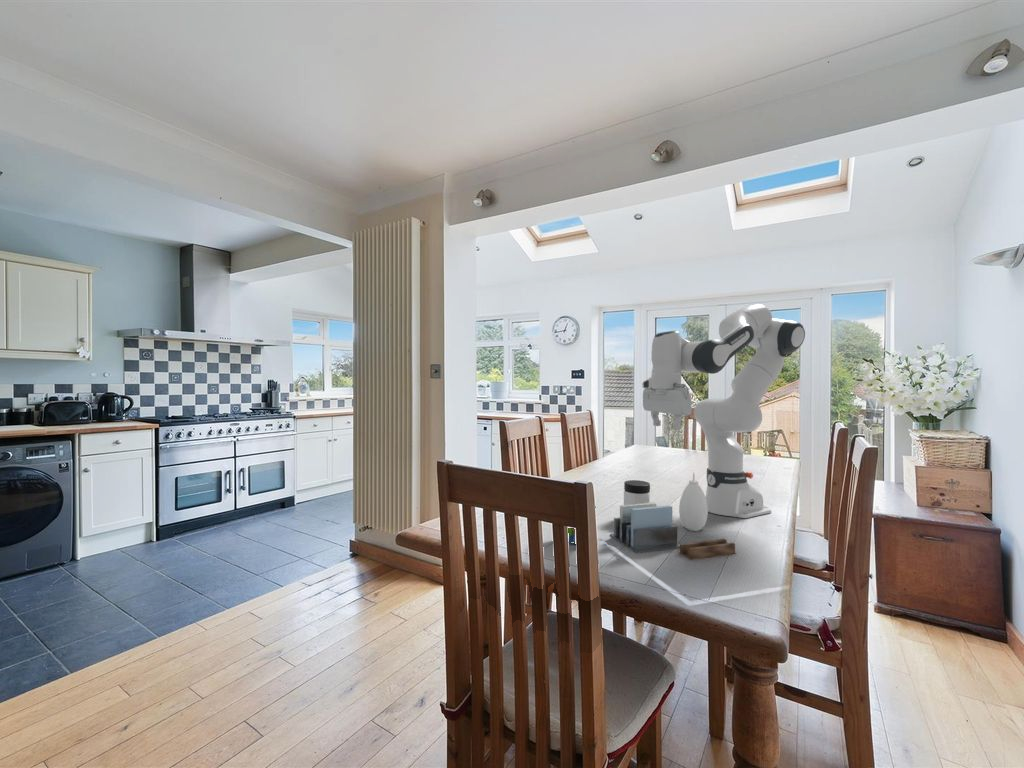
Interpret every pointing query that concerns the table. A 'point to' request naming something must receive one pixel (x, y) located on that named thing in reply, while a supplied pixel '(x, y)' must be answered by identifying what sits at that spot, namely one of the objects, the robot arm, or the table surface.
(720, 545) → the plate stand
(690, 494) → the sauce bottle
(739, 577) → the table surface
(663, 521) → the plate
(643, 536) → the dish rack
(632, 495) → the jar
